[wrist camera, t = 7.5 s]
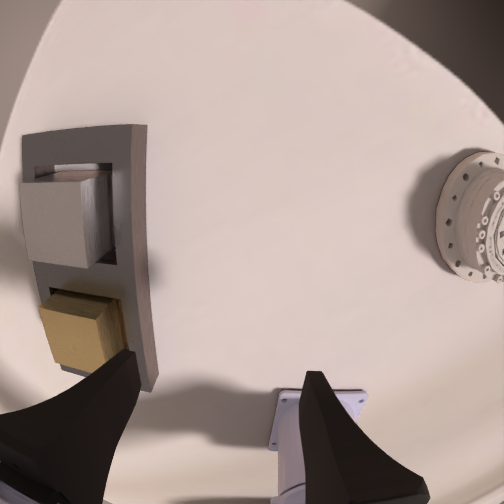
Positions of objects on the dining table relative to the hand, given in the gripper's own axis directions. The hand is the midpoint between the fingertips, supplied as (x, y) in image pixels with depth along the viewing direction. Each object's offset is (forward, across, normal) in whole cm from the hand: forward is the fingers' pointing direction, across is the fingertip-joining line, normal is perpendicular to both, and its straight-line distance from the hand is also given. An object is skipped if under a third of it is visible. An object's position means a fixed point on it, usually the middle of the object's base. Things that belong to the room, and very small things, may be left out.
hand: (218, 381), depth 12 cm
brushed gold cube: (+10, +11, +4) cm, 15 cm away
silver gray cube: (+10, +11, -4) cm, 16 cm away
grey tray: (+10, +11, 0) cm, 15 cm away
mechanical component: (+10, -18, -6) cm, 22 cm away
